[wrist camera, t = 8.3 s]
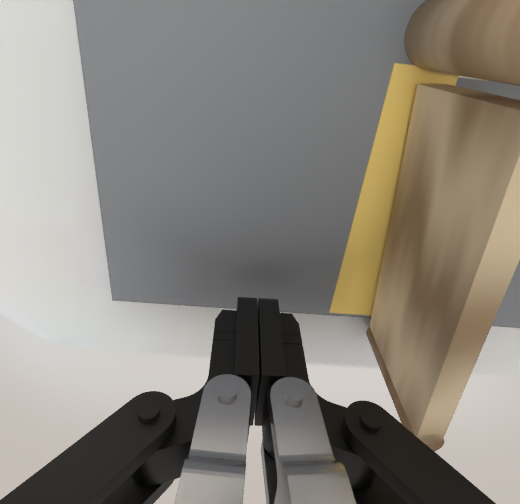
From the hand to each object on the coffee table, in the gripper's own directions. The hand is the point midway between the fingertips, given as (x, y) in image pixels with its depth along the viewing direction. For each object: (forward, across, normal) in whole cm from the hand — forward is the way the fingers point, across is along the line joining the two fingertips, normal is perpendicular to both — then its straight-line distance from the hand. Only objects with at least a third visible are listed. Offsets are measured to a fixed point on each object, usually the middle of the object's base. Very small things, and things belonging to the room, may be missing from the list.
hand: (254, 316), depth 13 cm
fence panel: (+3, -6, -2) cm, 7 cm away
